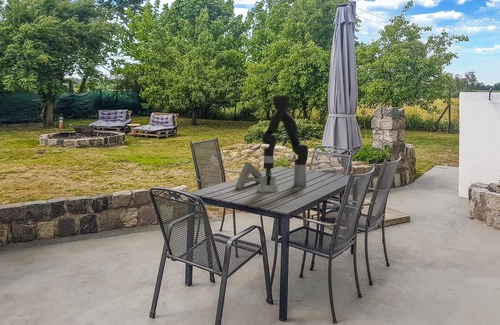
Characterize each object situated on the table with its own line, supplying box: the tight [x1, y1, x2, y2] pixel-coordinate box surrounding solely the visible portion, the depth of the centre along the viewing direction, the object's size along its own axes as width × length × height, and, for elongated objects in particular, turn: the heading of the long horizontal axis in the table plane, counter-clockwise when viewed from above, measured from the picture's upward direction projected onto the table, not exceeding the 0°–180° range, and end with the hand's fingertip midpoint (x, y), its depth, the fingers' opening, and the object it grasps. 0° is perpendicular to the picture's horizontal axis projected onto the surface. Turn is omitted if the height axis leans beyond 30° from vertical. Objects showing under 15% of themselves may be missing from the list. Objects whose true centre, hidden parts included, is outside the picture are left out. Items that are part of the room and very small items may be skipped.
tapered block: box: [260, 175, 277, 185], centre depth 283 cm, size 11×3×8 cm, turn 96°
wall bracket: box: [234, 161, 264, 191], centre depth 300 cm, size 22×4×30 cm
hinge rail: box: [257, 183, 279, 193], centre depth 284 cm, size 14×8×5 cm, turn 96°
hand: (268, 184), depth 283 cm, fingers closed on tapered block, 2 cm apart
